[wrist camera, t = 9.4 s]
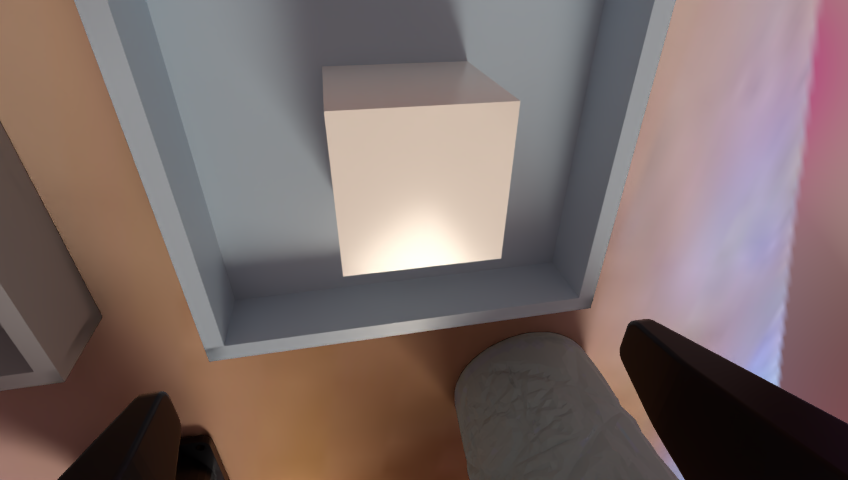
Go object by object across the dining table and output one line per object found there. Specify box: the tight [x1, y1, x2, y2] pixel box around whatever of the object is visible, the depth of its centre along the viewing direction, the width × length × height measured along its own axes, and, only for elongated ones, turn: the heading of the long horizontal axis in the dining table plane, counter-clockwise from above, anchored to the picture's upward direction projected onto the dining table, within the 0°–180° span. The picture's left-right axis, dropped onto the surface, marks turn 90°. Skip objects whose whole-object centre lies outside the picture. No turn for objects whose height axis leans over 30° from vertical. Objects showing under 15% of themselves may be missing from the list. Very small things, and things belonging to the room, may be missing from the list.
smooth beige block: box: [322, 61, 520, 277], centre depth 15 cm, size 5×5×5 cm
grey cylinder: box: [455, 332, 679, 480], centre depth 23 cm, size 10×10×12 cm
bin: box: [74, 0, 676, 362], centre depth 16 cm, size 15×16×4 cm
